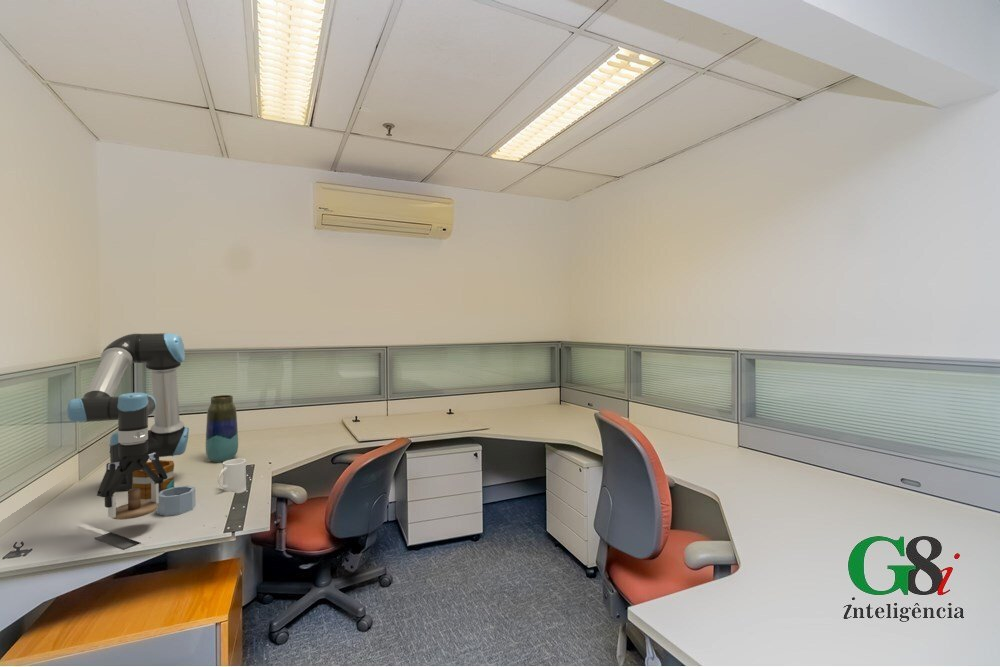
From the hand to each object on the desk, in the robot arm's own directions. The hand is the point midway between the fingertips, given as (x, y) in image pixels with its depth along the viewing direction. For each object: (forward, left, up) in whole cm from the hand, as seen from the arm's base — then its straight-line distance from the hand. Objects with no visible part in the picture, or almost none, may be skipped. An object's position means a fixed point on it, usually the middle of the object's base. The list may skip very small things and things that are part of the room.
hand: (134, 509), depth 151 cm
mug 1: (-22, +19, -8) cm, 30 cm away
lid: (0, 0, -1) cm, 1 cm away
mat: (0, 0, -8) cm, 8 cm away
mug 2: (-7, +38, -8) cm, 40 cm away
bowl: (-5, +16, -8) cm, 19 cm away
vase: (-51, +65, -8) cm, 83 cm away
